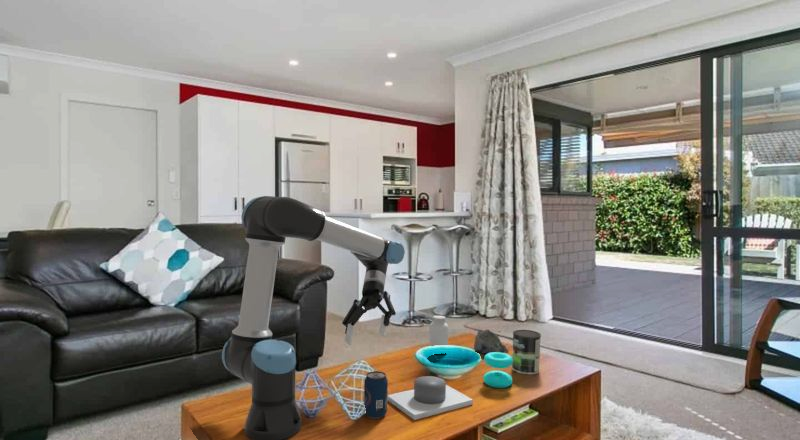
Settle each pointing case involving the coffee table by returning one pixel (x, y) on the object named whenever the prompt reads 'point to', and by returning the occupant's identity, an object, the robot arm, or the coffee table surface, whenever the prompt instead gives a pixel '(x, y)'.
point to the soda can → (375, 394)
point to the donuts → (498, 377)
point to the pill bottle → (438, 331)
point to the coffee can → (526, 351)
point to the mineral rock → (488, 343)
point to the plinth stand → (429, 398)
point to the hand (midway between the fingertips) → (364, 338)
